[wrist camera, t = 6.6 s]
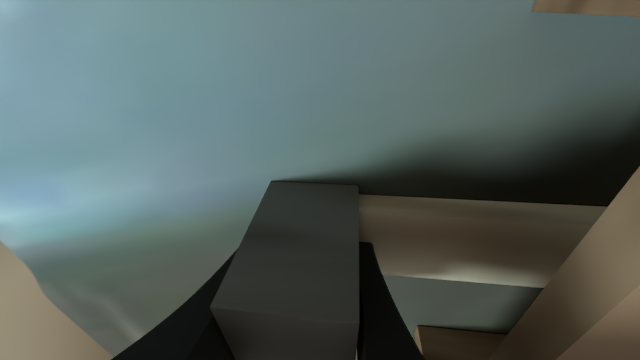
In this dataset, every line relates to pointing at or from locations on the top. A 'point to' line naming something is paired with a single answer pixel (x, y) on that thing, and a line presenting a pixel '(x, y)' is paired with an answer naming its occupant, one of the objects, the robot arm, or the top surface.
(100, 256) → the top surface
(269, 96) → the top surface
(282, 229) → the ash handle hammer
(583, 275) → the walnut bench
